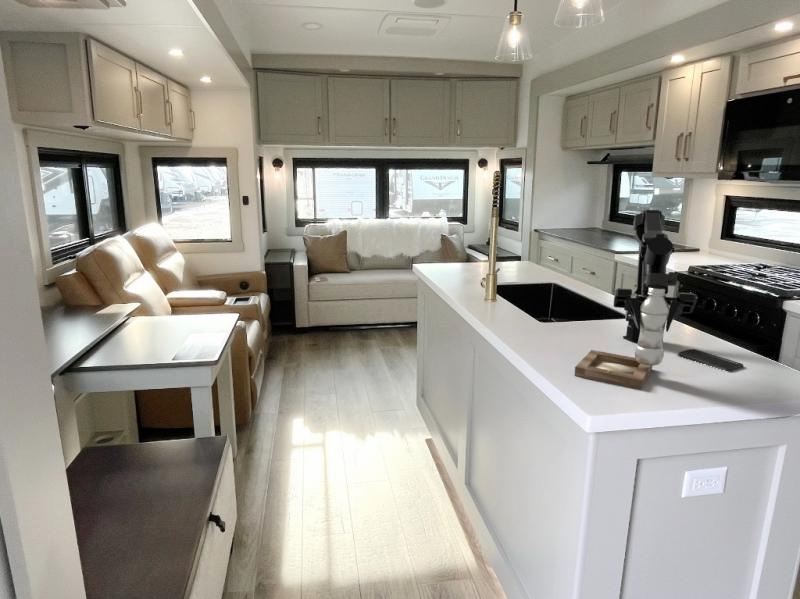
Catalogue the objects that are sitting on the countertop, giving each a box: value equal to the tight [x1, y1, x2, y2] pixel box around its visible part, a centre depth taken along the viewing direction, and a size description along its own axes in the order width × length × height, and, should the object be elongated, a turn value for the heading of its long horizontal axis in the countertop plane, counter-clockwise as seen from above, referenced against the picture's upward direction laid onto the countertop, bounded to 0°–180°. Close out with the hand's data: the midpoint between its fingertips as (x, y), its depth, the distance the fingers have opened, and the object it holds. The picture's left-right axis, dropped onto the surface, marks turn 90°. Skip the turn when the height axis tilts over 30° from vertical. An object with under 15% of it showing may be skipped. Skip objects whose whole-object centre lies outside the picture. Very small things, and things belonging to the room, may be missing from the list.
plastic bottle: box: [634, 286, 670, 367], centre depth 136 cm, size 6×7×20 cm
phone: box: [677, 348, 744, 372], centre depth 151 cm, size 8×1×15 cm
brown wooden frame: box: [574, 349, 653, 390], centre depth 142 cm, size 16×16×3 cm
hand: (652, 329), depth 135 cm, fingers closed on plastic bottle, 6 cm apart
